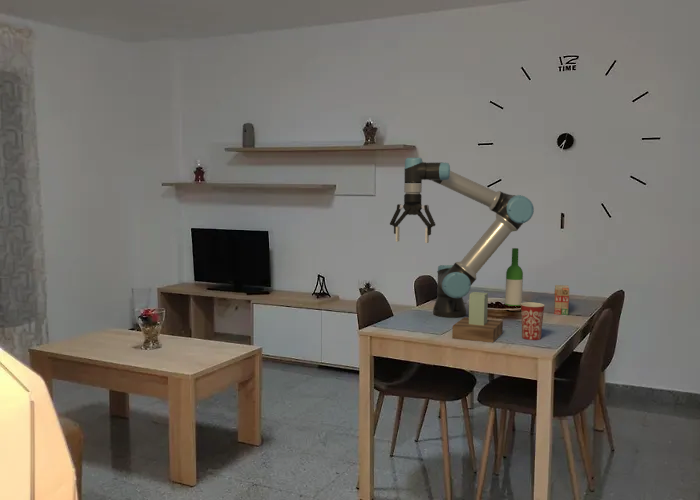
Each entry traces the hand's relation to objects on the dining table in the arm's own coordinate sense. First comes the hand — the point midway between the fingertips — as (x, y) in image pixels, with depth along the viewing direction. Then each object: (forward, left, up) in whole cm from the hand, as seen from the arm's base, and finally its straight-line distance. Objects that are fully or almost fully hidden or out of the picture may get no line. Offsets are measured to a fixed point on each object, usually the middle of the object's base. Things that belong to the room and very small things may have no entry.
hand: (412, 242), depth 288 cm
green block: (+17, +34, -30) cm, 48 cm away
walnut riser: (+17, +34, -35) cm, 51 cm away
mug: (+10, +54, -35) cm, 65 cm away
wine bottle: (-42, +37, -35) cm, 66 cm away
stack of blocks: (-53, +58, -35) cm, 86 cm away
